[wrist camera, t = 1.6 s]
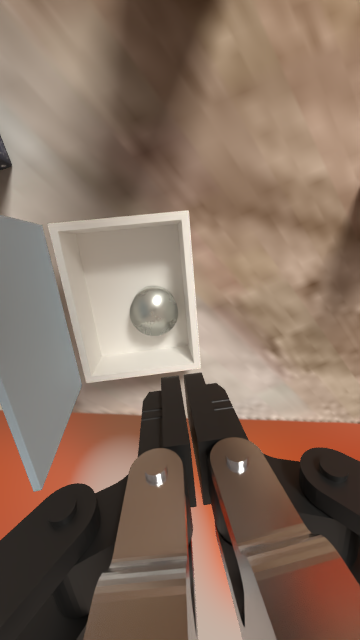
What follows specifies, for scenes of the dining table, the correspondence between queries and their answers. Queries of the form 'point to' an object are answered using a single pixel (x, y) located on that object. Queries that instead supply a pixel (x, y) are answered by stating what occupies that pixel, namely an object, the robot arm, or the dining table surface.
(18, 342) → the lid
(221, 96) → the dining table surface
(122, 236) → the open white box
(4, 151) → the small box
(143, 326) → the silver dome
